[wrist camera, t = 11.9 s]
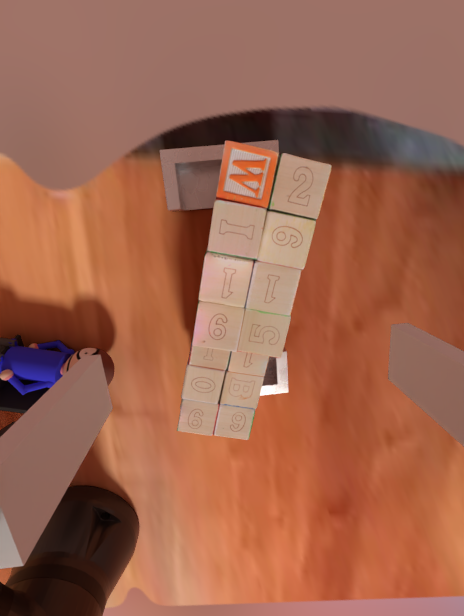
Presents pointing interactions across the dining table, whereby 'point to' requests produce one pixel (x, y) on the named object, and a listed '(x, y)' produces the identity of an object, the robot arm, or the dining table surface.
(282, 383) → the grey piece
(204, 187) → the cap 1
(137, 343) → the dining table surface
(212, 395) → the stack of blocks
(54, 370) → the character figurine
